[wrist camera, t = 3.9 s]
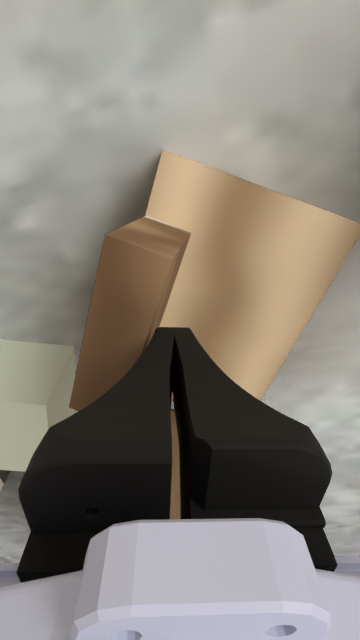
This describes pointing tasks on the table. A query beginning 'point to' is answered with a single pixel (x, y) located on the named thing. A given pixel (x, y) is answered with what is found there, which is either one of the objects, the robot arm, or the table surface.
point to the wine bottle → (3, 477)
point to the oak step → (246, 265)
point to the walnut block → (126, 302)
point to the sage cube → (32, 396)
